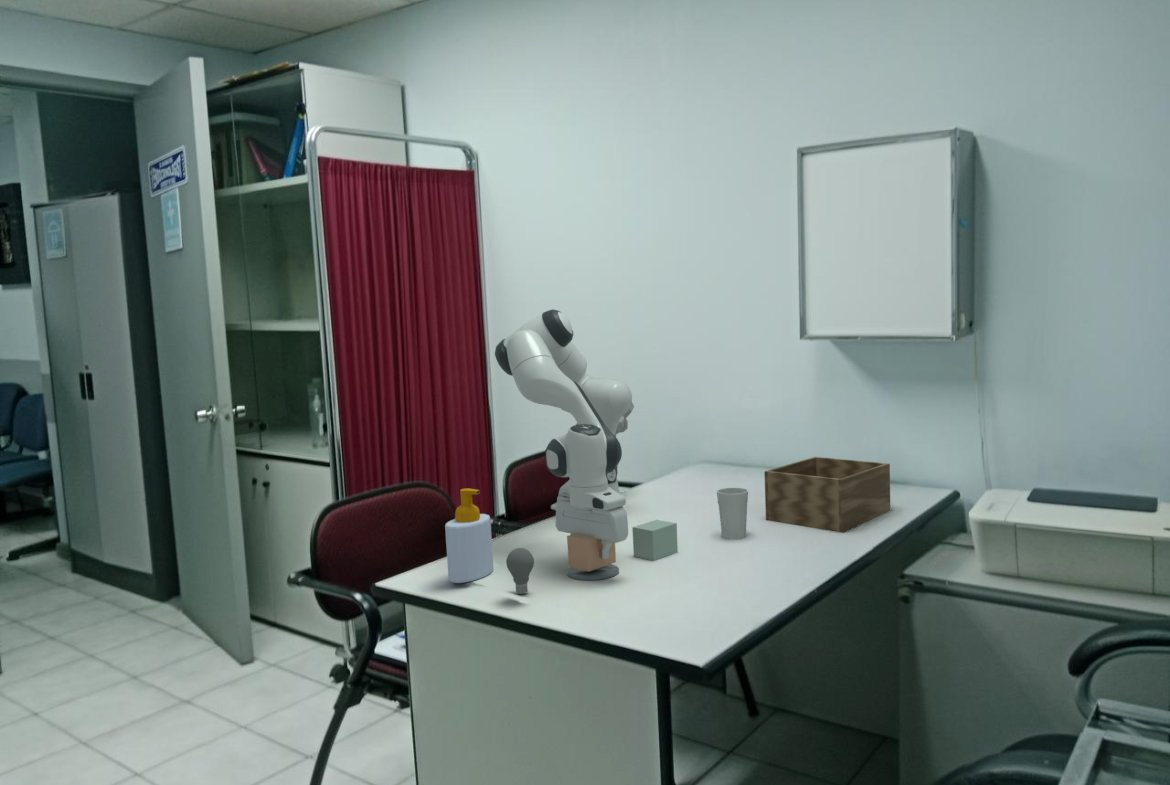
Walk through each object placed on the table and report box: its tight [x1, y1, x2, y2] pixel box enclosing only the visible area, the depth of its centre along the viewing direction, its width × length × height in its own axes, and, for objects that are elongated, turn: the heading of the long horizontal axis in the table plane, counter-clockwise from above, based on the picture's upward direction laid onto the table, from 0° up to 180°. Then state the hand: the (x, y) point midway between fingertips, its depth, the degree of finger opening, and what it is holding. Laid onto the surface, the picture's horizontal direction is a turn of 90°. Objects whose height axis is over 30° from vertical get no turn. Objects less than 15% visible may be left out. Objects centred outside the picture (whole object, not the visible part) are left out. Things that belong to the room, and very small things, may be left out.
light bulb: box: [505, 547, 535, 595], centre depth 198 cm, size 6×6×10 cm
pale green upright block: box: [632, 519, 679, 561], centre depth 223 cm, size 6×9×7 cm
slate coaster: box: [566, 563, 620, 582], centre depth 211 cm, size 12×12×1 cm
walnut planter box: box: [763, 456, 891, 534], centre depth 250 cm, size 23×26×14 cm
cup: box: [716, 487, 749, 541], centre depth 236 cm, size 8×8×12 cm
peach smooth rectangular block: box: [566, 534, 617, 572], centre depth 211 cm, size 6×9×7 cm
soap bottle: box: [444, 487, 494, 584], centre depth 213 cm, size 13×8×20 cm, turn 148°
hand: (592, 555), depth 211 cm, fingers closed on peach smooth rectangular block, 6 cm apart
